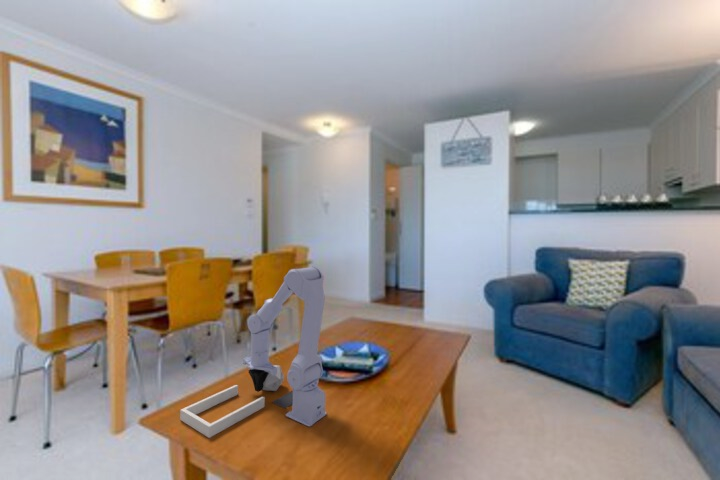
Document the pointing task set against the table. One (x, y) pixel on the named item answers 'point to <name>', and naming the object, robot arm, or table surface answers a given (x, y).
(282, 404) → the hole mat
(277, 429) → the table surface
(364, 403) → the table surface
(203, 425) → the grey u-shaped frame
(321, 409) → the robot arm
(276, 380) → the die
